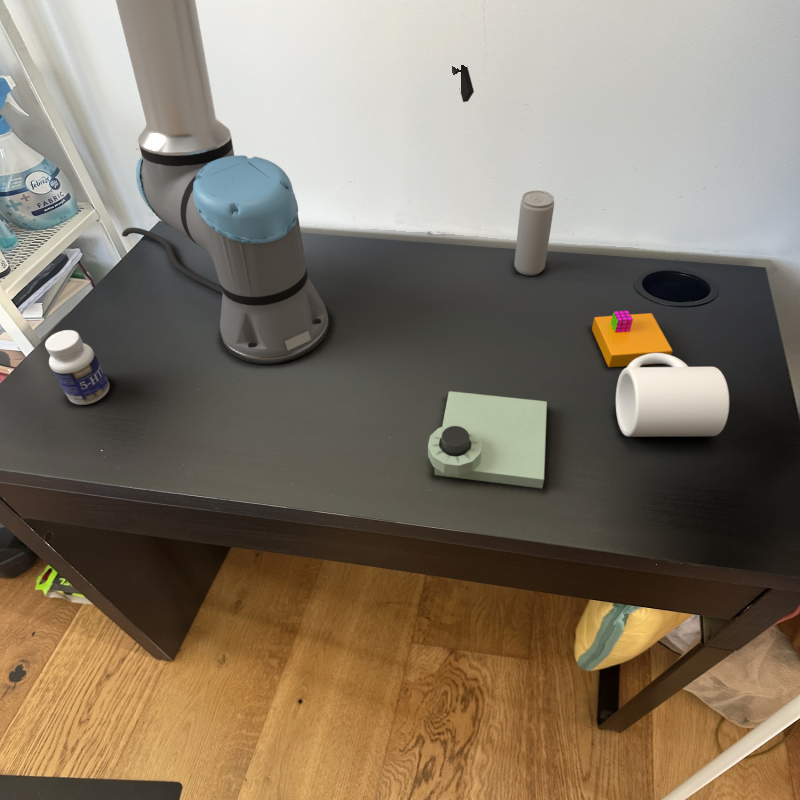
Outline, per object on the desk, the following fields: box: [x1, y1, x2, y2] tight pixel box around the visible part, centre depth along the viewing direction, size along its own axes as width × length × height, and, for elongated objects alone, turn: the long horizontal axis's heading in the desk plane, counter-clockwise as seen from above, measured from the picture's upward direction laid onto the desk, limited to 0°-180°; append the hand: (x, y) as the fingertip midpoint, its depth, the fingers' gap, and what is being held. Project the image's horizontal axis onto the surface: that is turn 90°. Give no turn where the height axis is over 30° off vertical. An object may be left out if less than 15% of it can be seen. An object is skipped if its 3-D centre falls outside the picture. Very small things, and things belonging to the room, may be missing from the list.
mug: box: [615, 353, 730, 438], centre depth 73 cm, size 12×10×8 cm
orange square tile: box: [591, 310, 674, 368], centre depth 84 cm, size 8×8×4 cm
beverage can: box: [513, 189, 555, 277], centre depth 94 cm, size 5×5×12 cm
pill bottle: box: [44, 329, 110, 406], centre depth 80 cm, size 5×5×9 cm
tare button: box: [442, 426, 469, 456], centre depth 69 cm, size 3×3×2 cm
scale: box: [427, 391, 548, 489], centre depth 73 cm, size 13×13×4 cm
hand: (512, 89), depth 89 cm, fingers open, 13 cm apart
